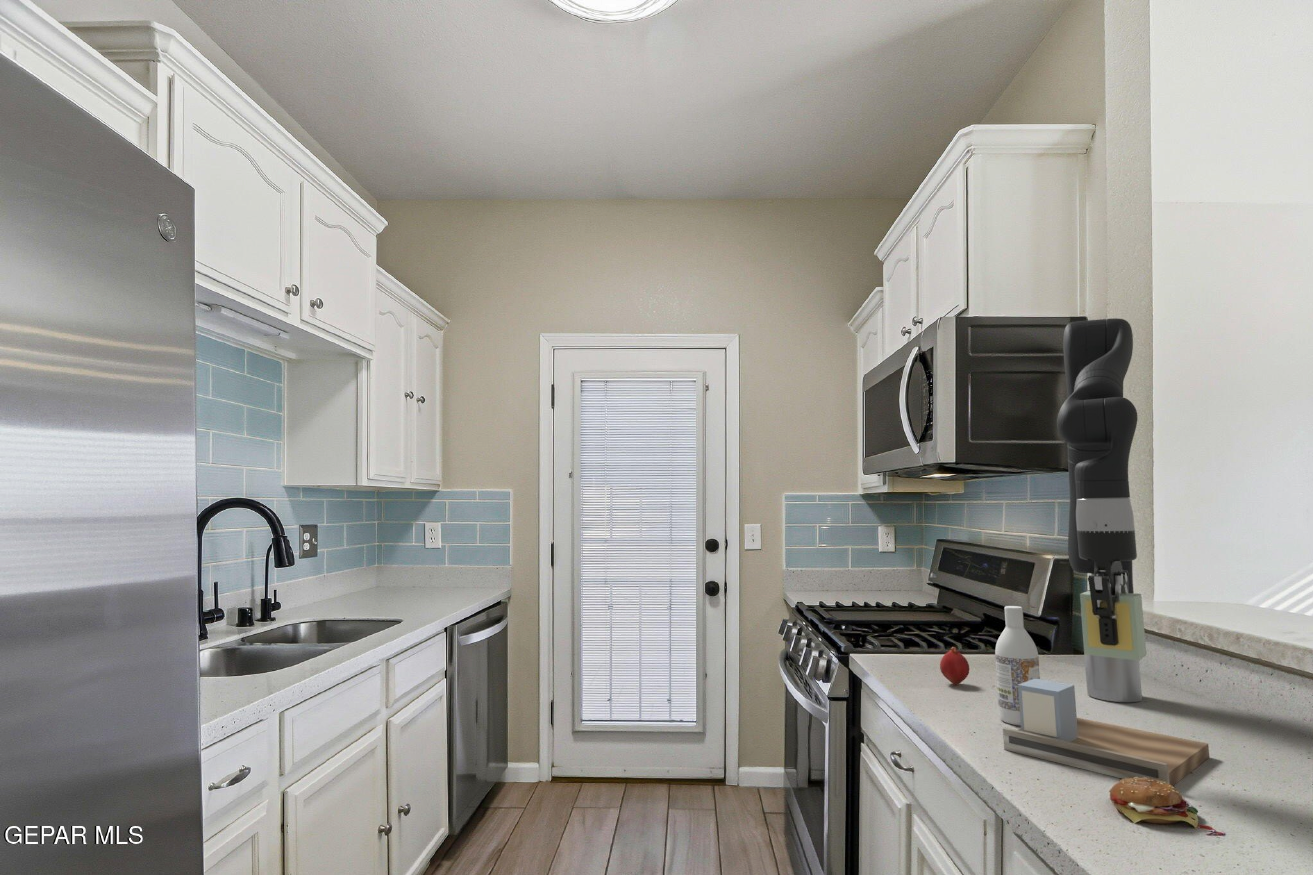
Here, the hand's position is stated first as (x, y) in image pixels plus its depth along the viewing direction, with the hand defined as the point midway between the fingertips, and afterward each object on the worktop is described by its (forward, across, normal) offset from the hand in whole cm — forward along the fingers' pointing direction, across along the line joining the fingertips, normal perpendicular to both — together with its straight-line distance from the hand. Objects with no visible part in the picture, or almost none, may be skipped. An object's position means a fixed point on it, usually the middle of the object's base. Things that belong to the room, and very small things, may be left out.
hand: (1114, 641), depth 109 cm
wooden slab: (+18, +4, +3) cm, 18 cm away
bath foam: (+18, +13, +18) cm, 28 cm away
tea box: (+2, 0, 0) cm, 2 cm away
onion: (+18, +31, +37) cm, 52 cm away
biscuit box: (+16, 0, +10) cm, 19 cm away
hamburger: (+19, -17, -8) cm, 27 cm away
